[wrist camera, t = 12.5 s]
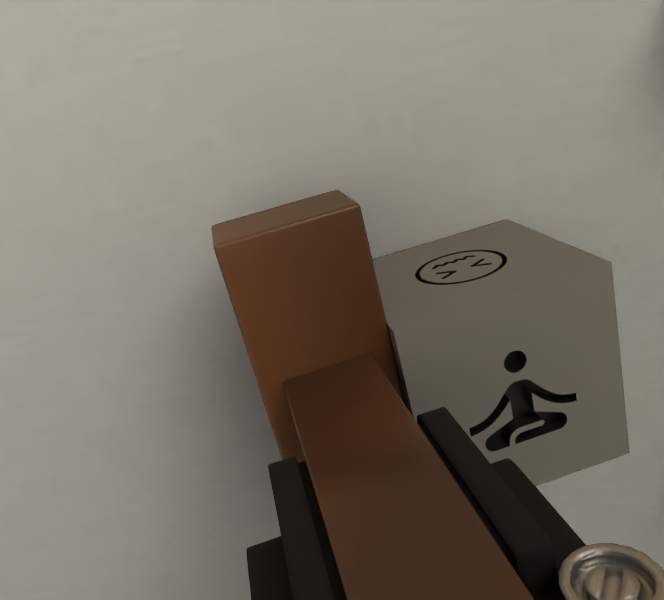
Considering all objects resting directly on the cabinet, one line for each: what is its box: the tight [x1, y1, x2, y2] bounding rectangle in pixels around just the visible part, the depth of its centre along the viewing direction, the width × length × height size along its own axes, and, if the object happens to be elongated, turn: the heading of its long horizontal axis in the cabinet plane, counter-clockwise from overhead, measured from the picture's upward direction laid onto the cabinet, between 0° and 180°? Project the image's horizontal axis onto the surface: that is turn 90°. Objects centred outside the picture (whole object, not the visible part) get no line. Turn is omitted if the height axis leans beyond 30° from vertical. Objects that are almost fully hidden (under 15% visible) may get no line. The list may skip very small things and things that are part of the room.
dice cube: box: [373, 219, 629, 486], centre depth 17 cm, size 5×5×5 cm
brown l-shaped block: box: [212, 190, 534, 600], centre depth 12 cm, size 3×10×11 cm, turn 14°
